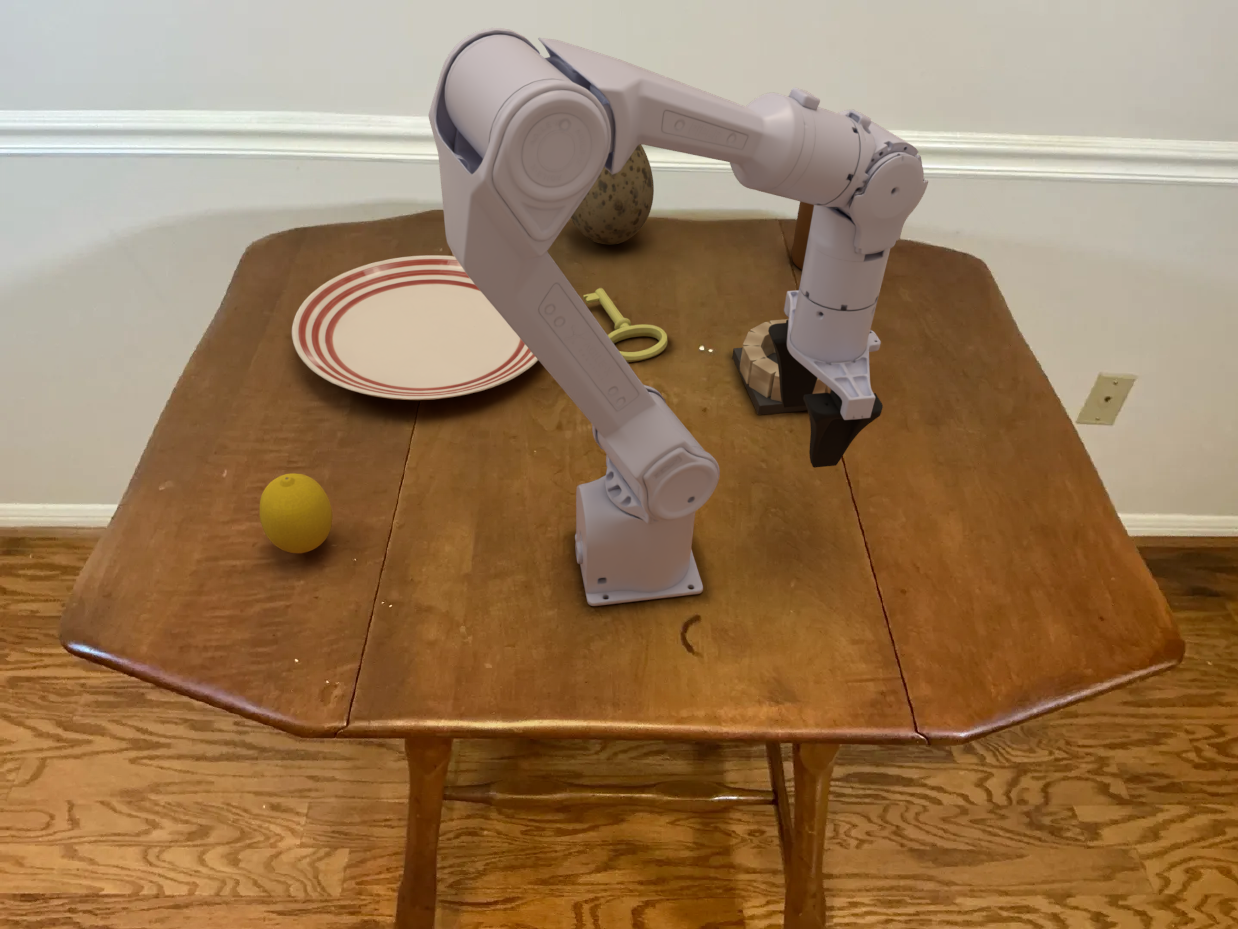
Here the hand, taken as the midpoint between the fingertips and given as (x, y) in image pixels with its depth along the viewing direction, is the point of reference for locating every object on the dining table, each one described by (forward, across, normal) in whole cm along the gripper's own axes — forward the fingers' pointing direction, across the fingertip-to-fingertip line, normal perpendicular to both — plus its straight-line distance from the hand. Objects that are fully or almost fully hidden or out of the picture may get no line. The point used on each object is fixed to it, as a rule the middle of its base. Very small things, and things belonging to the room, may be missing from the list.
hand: (808, 432), depth 78 cm
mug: (+10, +40, -17) cm, 45 cm away
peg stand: (+9, +19, -6) cm, 22 cm away
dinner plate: (+10, +31, +31) cm, 45 cm away
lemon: (+10, +2, +42) cm, 43 cm away
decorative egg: (+10, +51, +8) cm, 53 cm away
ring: (+8, +19, -6) cm, 21 cm away
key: (+10, +30, +10) cm, 33 cm away
